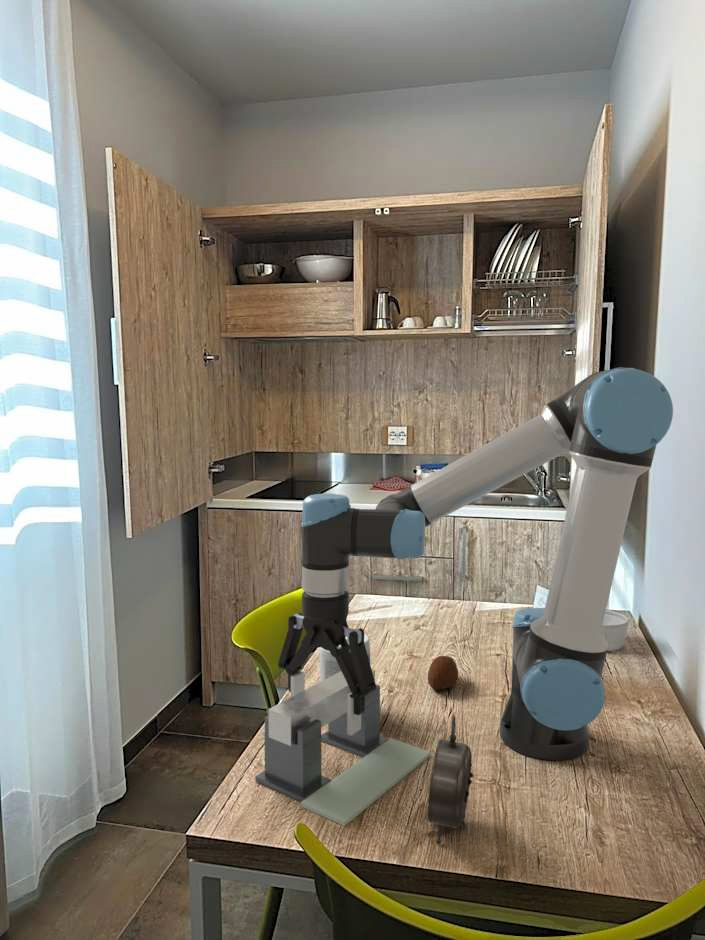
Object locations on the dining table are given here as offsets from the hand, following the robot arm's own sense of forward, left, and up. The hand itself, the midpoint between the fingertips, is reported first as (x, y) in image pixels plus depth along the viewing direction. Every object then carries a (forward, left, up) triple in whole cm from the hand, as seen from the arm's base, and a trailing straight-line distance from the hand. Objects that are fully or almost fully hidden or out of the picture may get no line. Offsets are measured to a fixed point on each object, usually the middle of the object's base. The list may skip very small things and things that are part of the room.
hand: (325, 721), depth 115 cm
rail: (0, 0, +1) cm, 1 cm away
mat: (-9, 0, -7) cm, 11 cm away
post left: (0, +8, -7) cm, 11 cm away
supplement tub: (+8, -16, -7) cm, 19 cm away
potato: (-1, -38, -7) cm, 39 cm away
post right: (0, -8, -7) cm, 11 cm away
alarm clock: (-25, +3, -7) cm, 26 cm away
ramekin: (-19, -82, -7) cm, 84 cm away
